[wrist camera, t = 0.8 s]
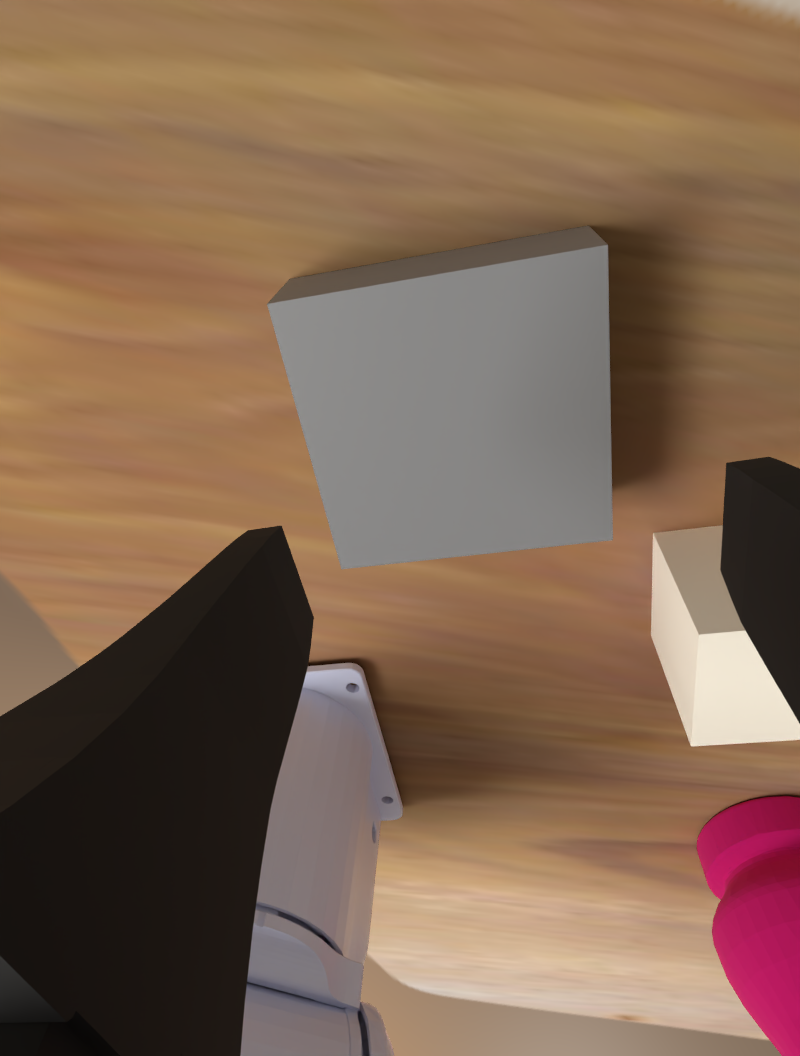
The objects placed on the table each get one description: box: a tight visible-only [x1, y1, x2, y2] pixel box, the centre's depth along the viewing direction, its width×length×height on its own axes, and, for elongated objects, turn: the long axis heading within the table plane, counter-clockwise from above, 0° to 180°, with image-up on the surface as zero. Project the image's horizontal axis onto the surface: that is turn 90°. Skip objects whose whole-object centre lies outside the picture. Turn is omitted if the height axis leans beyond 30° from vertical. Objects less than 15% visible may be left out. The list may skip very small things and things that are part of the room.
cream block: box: [651, 525, 800, 746], centre depth 21 cm, size 4×4×5 cm
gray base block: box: [267, 226, 613, 569], centre depth 19 cm, size 8×8×3 cm
